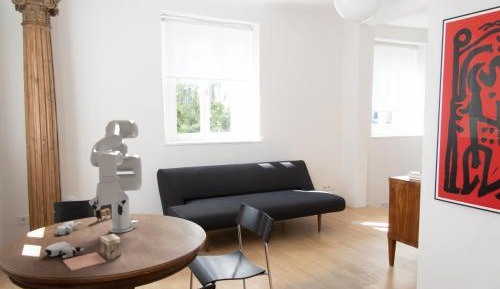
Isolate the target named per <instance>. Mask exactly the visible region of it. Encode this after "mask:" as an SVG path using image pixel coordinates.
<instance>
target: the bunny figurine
mask: <svg viewBox="0 0 500 289" xmlns="http://www.w3.org/2000/svg"><path fill="white" fill-rule="evenodd" d="M82 224H83V223H82V222H81V221H78V222H74V221H72V220H71V221H69V222H68V221H65V222H63V223H62V224H61V225H59V226H56V227H55V231H54V235H59V236H60V235H61V236H65V235H66V234H68V233H72V232H73V231H75V228H76V226H80V225H82Z"/></svg>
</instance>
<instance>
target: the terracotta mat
mask: <svg viewBox="0 0 500 289" xmlns="http://www.w3.org/2000/svg"><path fill="white" fill-rule="evenodd" d="M62 262H63V263H64V264H65V266H66V267H67V268H68V269H69V270H70V271H71V272H73V271H74V272H75V271H78V270H80V269H81V270H82V269H85V268H86V269H87V268H89V267H92V266H96V265H97V266H98V265H100V264H103V263H107V261H106V259H104V258H103V257H102V256H101V255H100V254H98V253H97V252H92V253H87V254H81V255H79V256H73V257H71V258H70V257H69V258H65V259H63V260H62Z"/></svg>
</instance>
